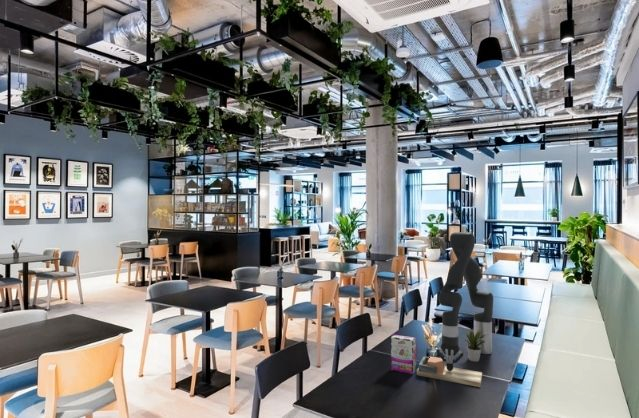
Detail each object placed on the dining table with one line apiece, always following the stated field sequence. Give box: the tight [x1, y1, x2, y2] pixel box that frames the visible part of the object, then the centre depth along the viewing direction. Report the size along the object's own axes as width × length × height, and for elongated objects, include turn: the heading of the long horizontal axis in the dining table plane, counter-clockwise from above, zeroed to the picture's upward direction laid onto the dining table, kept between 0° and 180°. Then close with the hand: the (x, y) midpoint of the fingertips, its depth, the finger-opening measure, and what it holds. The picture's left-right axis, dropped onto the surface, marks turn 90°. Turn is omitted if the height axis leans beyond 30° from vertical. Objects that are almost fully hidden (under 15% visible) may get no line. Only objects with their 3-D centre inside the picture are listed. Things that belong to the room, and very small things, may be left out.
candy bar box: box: [390, 334, 417, 375], centre depth 192 cm, size 11×5×16 cm, turn 62°
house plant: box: [462, 327, 488, 363], centre depth 205 cm, size 14×14×16 cm
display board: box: [416, 356, 483, 388], centre depth 187 cm, size 12×28×5 cm, turn 64°
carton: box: [428, 356, 446, 374], centre depth 189 cm, size 7×7×4 cm
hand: (449, 370), depth 187 cm, fingers closed
